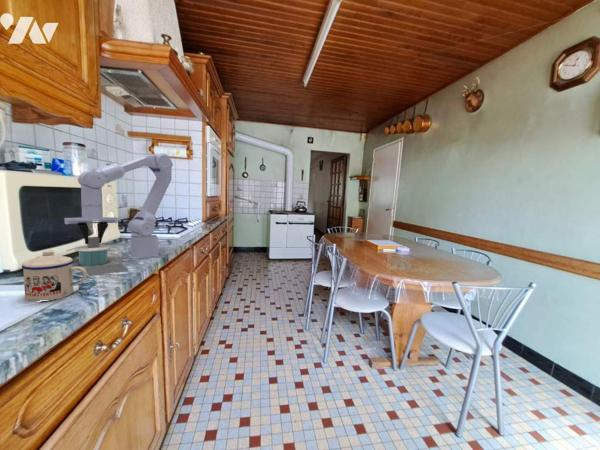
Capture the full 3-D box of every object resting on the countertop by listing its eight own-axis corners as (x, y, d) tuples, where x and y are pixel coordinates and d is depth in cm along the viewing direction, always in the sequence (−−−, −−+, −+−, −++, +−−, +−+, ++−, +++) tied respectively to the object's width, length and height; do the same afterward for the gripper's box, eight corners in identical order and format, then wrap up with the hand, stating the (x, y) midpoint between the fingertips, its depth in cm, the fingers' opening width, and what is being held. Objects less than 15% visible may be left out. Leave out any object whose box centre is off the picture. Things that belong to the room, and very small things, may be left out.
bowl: (104, 260, 96) (104, 246, 95) (108, 264, 91) (108, 250, 90) (78, 263, 90) (78, 248, 90) (81, 268, 85) (80, 252, 85)
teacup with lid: (14, 305, 57) (10, 256, 56) (36, 290, 66) (34, 247, 64) (80, 300, 62) (78, 254, 61) (93, 287, 70) (92, 246, 69)
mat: (121, 264, 92) (121, 263, 92) (129, 271, 85) (129, 270, 85) (84, 269, 84) (84, 267, 84) (89, 277, 77) (89, 276, 77)
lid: (107, 244, 97) (107, 234, 96) (113, 249, 90) (113, 238, 90) (73, 247, 89) (72, 236, 89) (76, 253, 83) (76, 241, 82)
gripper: (65, 206, 80) (66, 247, 82) (119, 206, 91) (120, 243, 92) (63, 204, 85) (64, 243, 86) (115, 205, 96) (115, 240, 97)
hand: (93, 243), depth 90 cm, fingers closed on lid, 3 cm apart
